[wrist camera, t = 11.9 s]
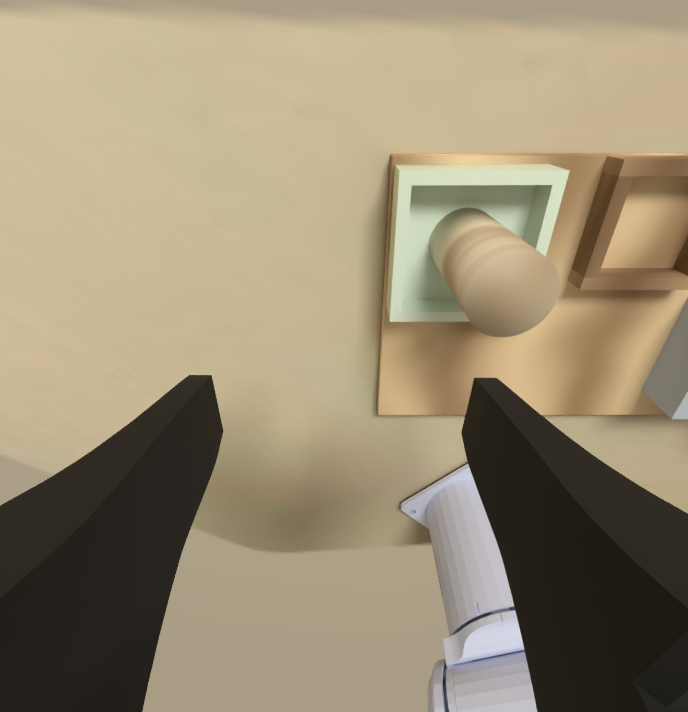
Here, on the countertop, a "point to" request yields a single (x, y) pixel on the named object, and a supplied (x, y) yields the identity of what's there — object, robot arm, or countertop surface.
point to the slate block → (671, 372)
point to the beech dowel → (493, 273)
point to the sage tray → (451, 192)
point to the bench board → (563, 298)
